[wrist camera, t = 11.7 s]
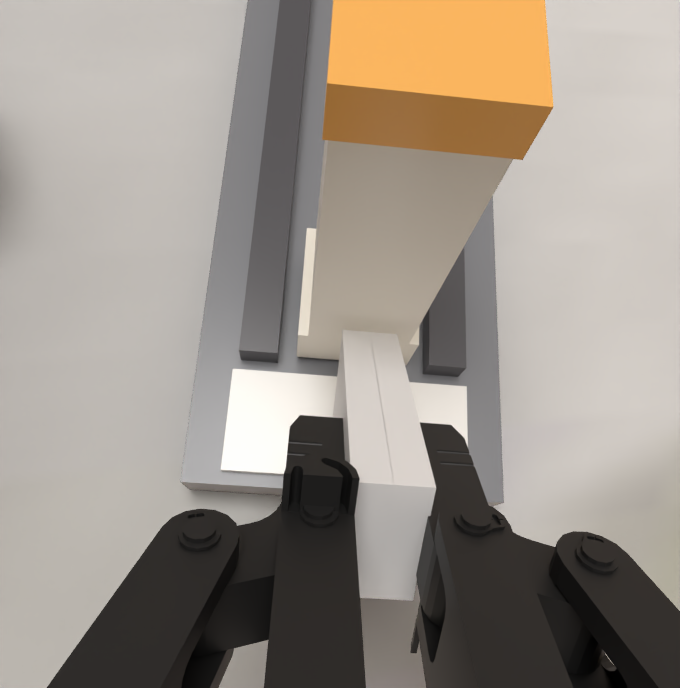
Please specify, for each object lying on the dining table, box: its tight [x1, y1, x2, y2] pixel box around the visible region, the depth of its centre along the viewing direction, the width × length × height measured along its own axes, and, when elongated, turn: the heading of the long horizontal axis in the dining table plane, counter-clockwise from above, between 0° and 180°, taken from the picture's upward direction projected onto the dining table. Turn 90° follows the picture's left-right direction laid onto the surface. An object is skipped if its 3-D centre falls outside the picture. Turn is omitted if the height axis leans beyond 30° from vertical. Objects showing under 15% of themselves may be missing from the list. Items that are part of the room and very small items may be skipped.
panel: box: [180, 0, 504, 506], centre depth 24 cm, size 10×28×3 cm, turn 177°
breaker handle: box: [297, 0, 553, 365], centre depth 15 cm, size 4×4×12 cm
